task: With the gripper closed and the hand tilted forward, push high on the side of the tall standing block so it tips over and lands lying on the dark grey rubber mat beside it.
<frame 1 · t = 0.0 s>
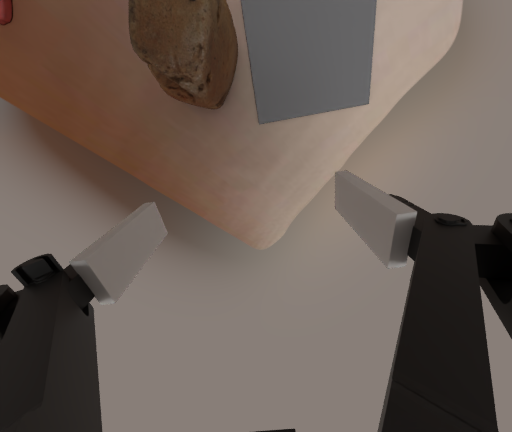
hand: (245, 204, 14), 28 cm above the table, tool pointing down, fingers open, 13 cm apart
mat: (310, 54, 33), on the table
block: (213, 74, 34), on the table
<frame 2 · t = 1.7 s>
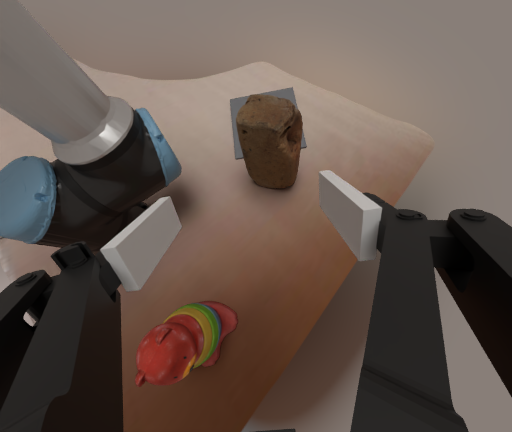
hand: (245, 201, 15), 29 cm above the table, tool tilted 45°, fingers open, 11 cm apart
mat: (265, 122, 53), on the table
block: (274, 176, 48), on the table
stacking bear: (207, 326, 40), on the table
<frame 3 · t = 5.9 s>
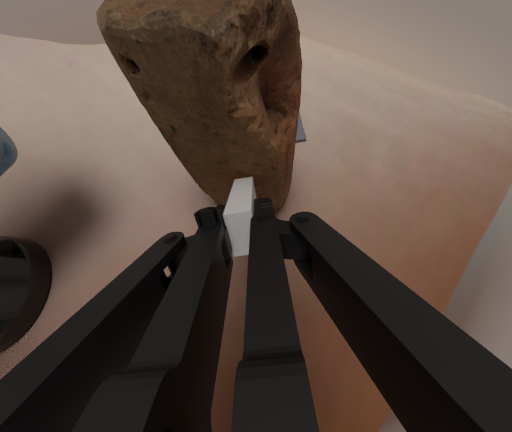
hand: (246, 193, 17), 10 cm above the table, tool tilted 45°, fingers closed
block: (250, 190, 28), on the table, touching gripper
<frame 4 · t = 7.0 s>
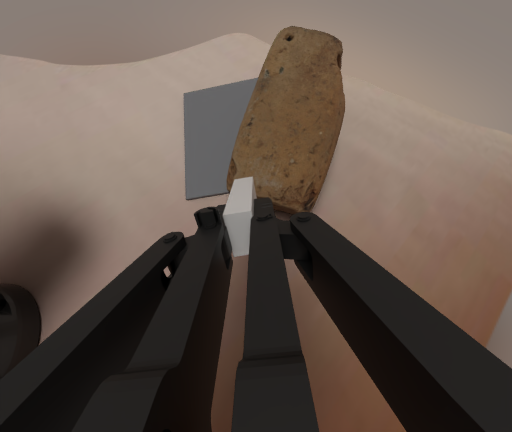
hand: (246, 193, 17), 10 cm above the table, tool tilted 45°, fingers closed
mat: (241, 131, 31), on the table
block: (264, 207, 23), point 3 cm above the table, touching mat
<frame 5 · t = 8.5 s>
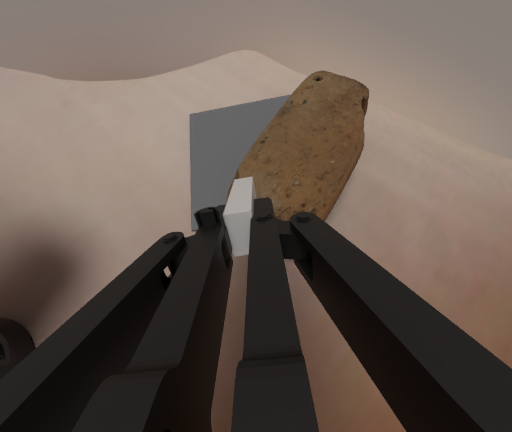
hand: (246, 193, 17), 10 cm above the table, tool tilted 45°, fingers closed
mat: (250, 157, 29), on the table
block: (260, 227, 21), point 4 cm above the table, touching mat
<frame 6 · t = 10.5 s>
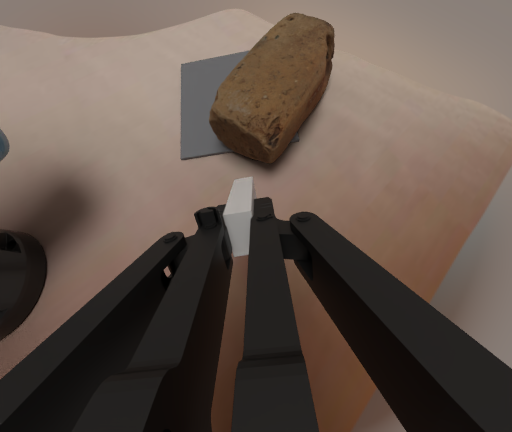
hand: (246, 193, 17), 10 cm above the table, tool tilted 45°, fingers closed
mat: (234, 99, 33), on the table
block: (236, 143, 25), point 4 cm above the table, touching mat
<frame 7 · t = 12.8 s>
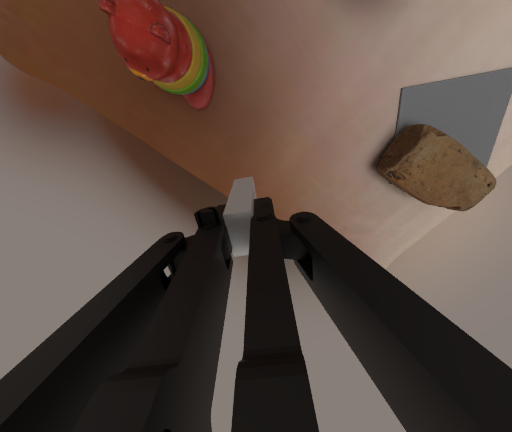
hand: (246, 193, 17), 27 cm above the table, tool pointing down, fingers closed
mat: (446, 131, 39), on the table
block: (397, 146, 36), point 4 cm above the table, touching mat
stacking bear: (187, 70, 35), on the table
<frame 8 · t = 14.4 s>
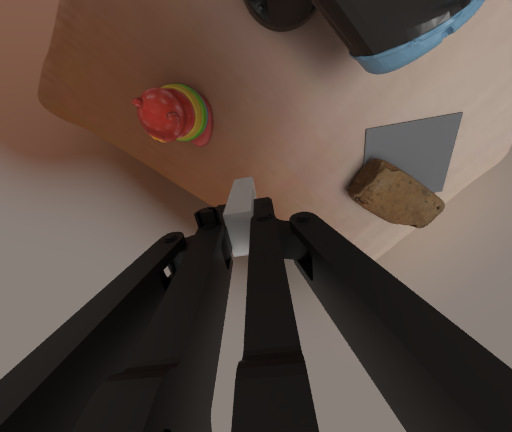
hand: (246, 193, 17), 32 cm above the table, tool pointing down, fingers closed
mat: (405, 162, 47), on the table
block: (362, 177, 44), point 4 cm above the table, touching mat
stacking bear: (191, 115, 43), on the table
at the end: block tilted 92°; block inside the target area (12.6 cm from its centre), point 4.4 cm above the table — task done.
